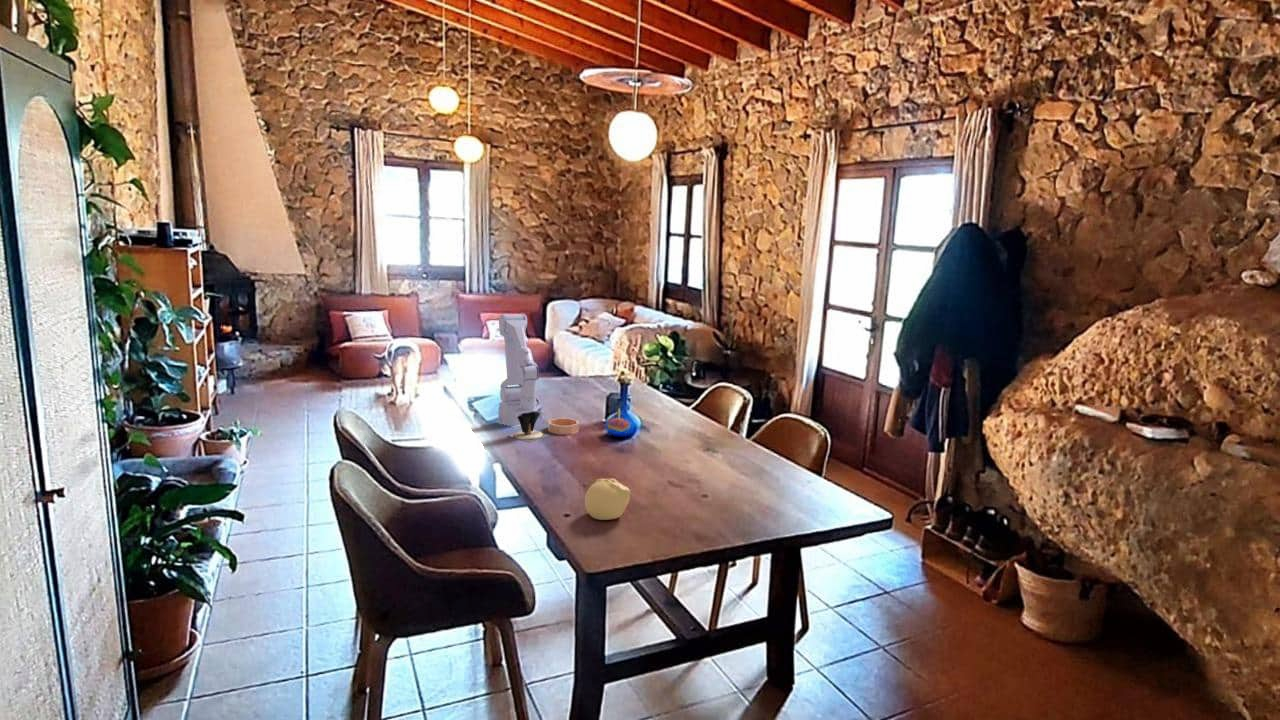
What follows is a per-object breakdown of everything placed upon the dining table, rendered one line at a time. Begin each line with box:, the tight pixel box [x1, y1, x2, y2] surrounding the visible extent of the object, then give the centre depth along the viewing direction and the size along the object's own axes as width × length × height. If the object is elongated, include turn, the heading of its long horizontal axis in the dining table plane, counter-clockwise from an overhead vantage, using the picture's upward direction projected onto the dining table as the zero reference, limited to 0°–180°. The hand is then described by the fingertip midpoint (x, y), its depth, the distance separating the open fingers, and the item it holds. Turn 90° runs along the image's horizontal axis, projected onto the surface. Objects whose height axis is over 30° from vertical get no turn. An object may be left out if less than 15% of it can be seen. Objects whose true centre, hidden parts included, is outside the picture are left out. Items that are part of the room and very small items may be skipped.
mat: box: [505, 432, 551, 444], centre depth 275 cm, size 12×12×1 cm
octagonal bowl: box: [547, 417, 580, 435], centre depth 284 cm, size 12×12×4 cm
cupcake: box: [607, 407, 631, 432], centre depth 280 cm, size 9×8×12 cm
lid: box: [512, 423, 542, 441], centre depth 274 cm, size 11×11×5 cm
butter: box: [584, 477, 631, 521], centre depth 205 cm, size 11×12×11 cm
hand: (527, 431), depth 274 cm, fingers closed on lid, 2 cm apart
